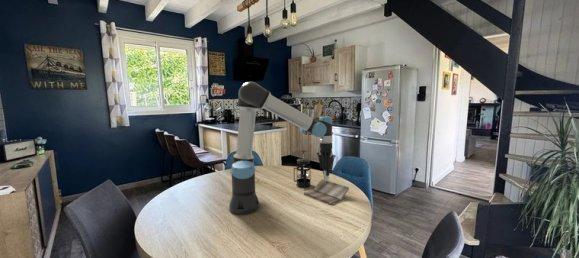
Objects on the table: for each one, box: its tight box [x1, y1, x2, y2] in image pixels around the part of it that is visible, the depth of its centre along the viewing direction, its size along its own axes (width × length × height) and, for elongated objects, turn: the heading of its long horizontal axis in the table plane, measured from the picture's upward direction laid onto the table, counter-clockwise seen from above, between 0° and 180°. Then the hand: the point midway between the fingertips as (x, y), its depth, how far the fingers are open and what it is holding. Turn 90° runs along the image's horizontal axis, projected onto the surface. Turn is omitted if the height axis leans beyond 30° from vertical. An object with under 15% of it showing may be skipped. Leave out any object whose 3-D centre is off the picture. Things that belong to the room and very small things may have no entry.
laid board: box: [303, 188, 341, 206], centre depth 137 cm, size 20×8×2 cm, turn 40°
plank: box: [313, 178, 350, 202], centre depth 142 cm, size 20×9×1 cm
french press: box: [293, 149, 312, 189], centre depth 157 cm, size 12×9×23 cm
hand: (326, 180), depth 148 cm, fingers closed
